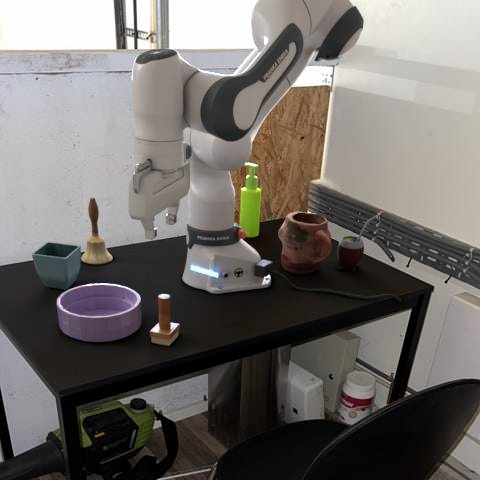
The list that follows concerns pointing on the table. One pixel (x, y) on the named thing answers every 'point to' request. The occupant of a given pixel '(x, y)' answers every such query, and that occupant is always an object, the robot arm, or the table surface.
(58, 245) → the flower pot
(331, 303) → the table surface
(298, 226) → the decorative planter
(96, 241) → the hand bell
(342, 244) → the mate gourd
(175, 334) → the brush
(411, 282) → the table surface
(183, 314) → the table surface
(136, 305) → the bowl
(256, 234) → the soap dispenser
